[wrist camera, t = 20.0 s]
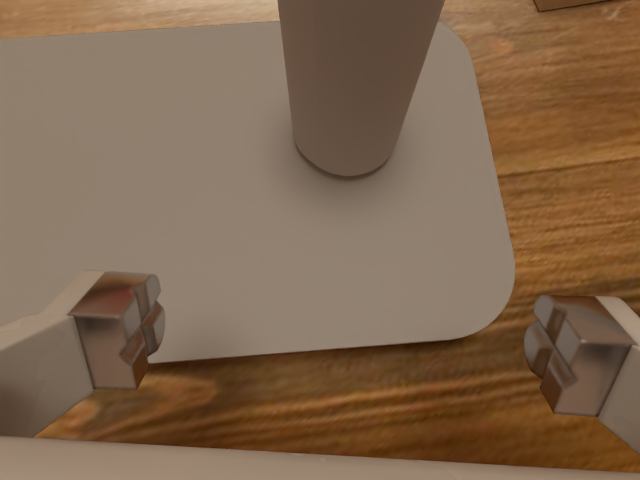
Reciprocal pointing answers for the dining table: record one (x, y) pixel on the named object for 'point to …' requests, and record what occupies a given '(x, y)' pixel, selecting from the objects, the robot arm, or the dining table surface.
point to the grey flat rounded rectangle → (243, 195)
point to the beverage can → (353, 75)
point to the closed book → (560, 3)
